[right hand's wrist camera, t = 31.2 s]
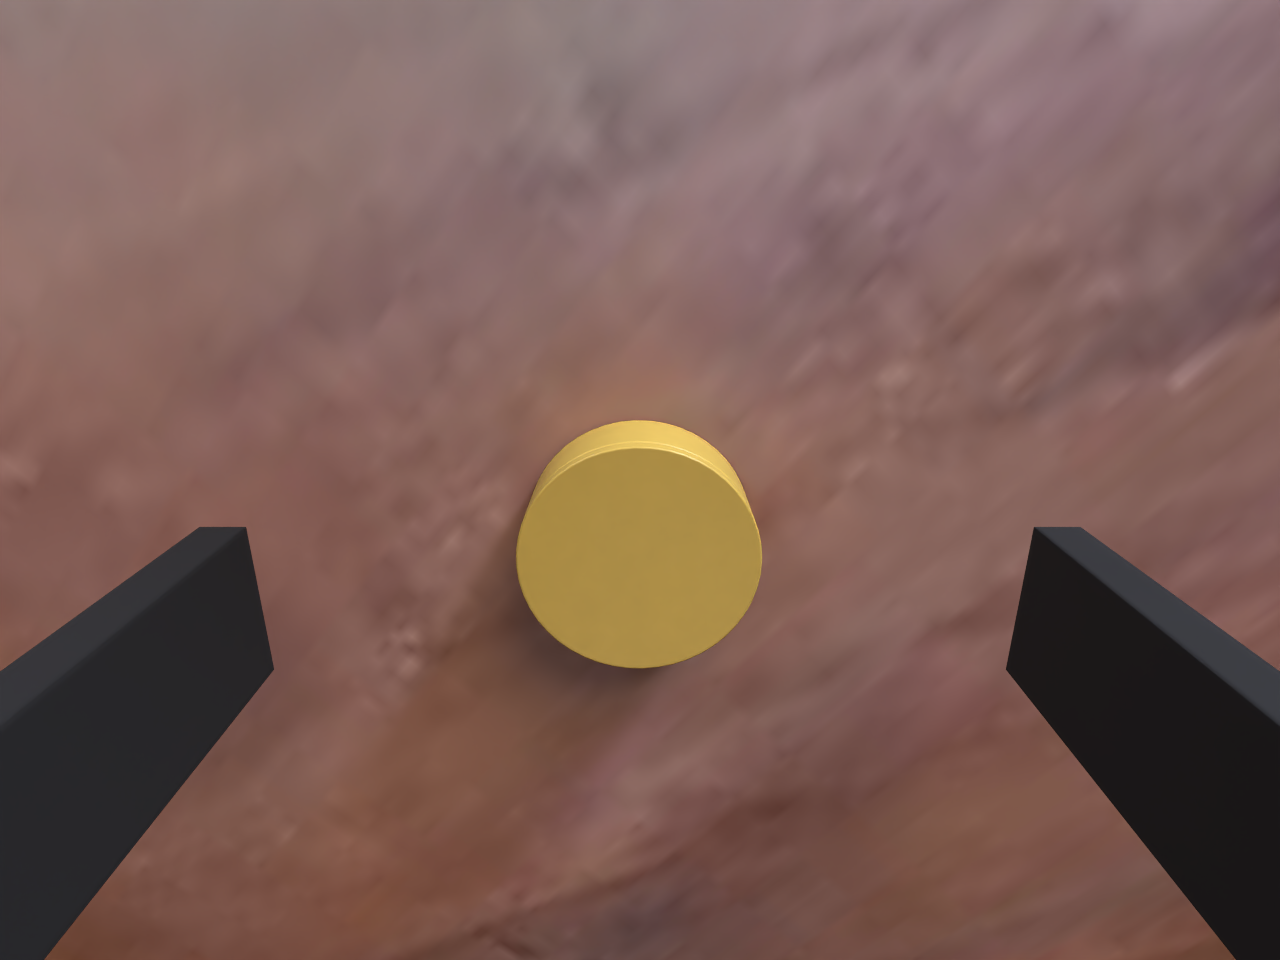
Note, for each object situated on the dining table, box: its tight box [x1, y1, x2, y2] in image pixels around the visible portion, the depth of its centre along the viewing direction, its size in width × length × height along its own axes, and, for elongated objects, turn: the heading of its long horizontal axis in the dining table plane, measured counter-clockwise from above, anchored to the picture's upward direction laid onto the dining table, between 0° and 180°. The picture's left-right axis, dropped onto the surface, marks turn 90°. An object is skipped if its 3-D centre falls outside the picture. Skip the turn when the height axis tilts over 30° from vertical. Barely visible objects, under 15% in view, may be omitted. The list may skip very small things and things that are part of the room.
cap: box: [516, 420, 762, 668], centre depth 14 cm, size 4×4×2 cm
